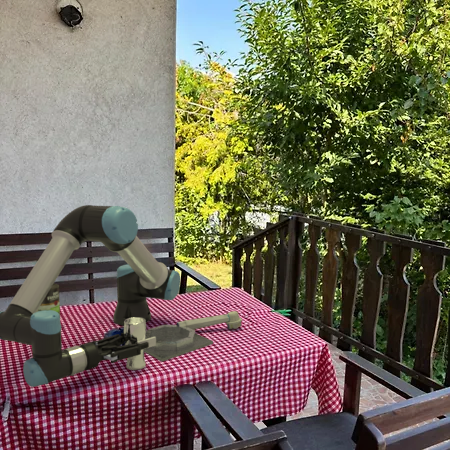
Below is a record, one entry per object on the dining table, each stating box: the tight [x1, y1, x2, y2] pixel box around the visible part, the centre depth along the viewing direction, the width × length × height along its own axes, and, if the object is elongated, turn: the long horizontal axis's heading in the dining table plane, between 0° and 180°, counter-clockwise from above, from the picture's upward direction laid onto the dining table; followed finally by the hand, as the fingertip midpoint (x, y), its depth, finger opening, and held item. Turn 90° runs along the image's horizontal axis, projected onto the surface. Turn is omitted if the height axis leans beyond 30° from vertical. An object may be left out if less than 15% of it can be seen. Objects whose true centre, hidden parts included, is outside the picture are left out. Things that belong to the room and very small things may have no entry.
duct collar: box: [144, 324, 214, 362], centre depth 163 cm, size 22×22×3 cm
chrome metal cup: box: [123, 317, 147, 371], centre depth 143 cm, size 7×7×15 cm
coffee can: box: [36, 283, 61, 316], centre depth 185 cm, size 10×10×14 cm
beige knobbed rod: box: [176, 310, 243, 331], centre depth 174 cm, size 5×7×25 cm
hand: (148, 337), depth 147 cm, fingers closed on chrome metal cup, 6 cm apart
